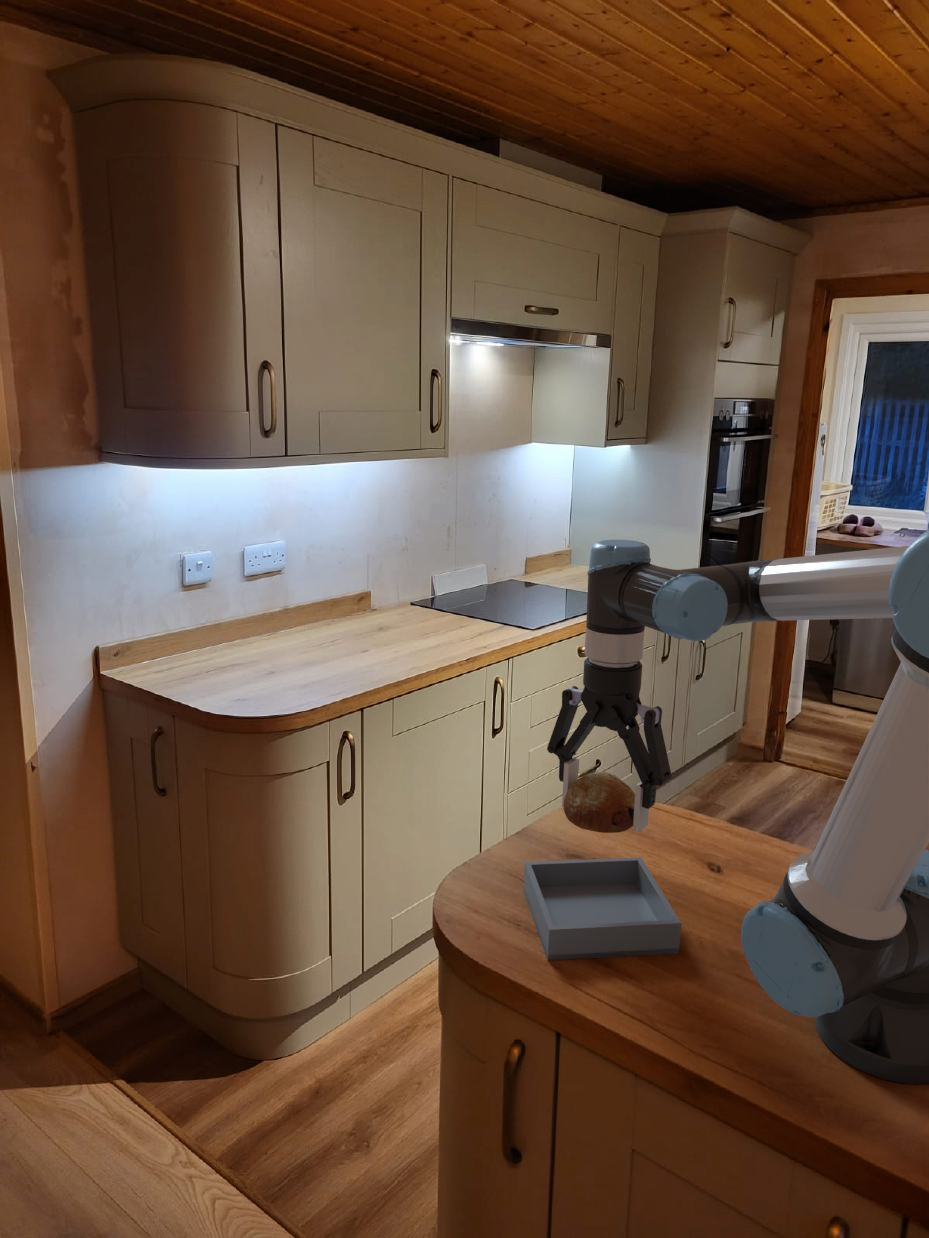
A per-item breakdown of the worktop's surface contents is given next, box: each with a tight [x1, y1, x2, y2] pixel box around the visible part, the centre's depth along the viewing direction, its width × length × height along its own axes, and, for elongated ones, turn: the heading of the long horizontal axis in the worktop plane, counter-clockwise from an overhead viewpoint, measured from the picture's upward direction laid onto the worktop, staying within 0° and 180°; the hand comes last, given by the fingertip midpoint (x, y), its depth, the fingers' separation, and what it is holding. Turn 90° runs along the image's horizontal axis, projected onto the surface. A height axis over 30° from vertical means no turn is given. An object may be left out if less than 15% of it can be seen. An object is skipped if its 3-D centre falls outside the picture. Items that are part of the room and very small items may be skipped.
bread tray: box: [523, 856, 682, 961], centre depth 130 cm, size 18×18×4 cm
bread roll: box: [563, 771, 635, 834], centre depth 127 cm, size 10×10×8 cm
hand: (604, 815), depth 127 cm, fingers closed on bread roll, 10 cm apart
